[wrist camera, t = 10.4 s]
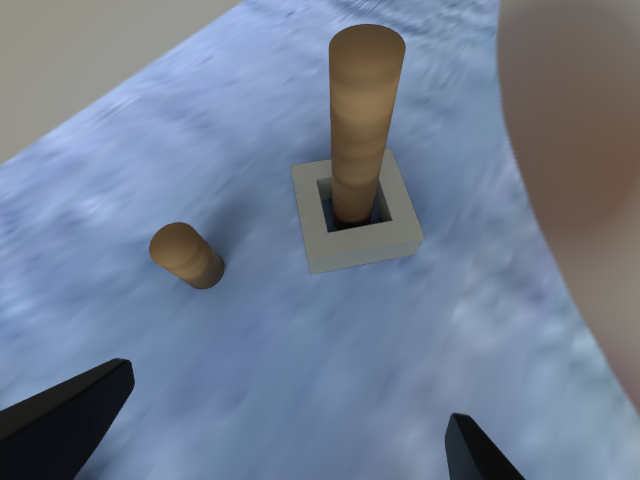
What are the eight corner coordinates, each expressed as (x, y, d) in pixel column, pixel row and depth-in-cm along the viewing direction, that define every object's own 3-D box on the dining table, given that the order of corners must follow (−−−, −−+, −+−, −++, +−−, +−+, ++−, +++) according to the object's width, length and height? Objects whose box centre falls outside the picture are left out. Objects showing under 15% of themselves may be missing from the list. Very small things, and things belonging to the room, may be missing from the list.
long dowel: (377, 223, 24) (422, 50, 12) (346, 243, 24) (358, 83, 11) (355, 198, 25) (373, 15, 13) (325, 216, 25) (314, 43, 12)
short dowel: (225, 285, 23) (197, 260, 18) (185, 292, 23) (147, 270, 18) (223, 249, 24) (197, 218, 19) (185, 256, 24) (150, 227, 19)
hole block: (414, 254, 23) (424, 237, 20) (311, 274, 23) (307, 260, 20) (385, 172, 26) (390, 148, 24) (295, 188, 26) (290, 166, 23)
